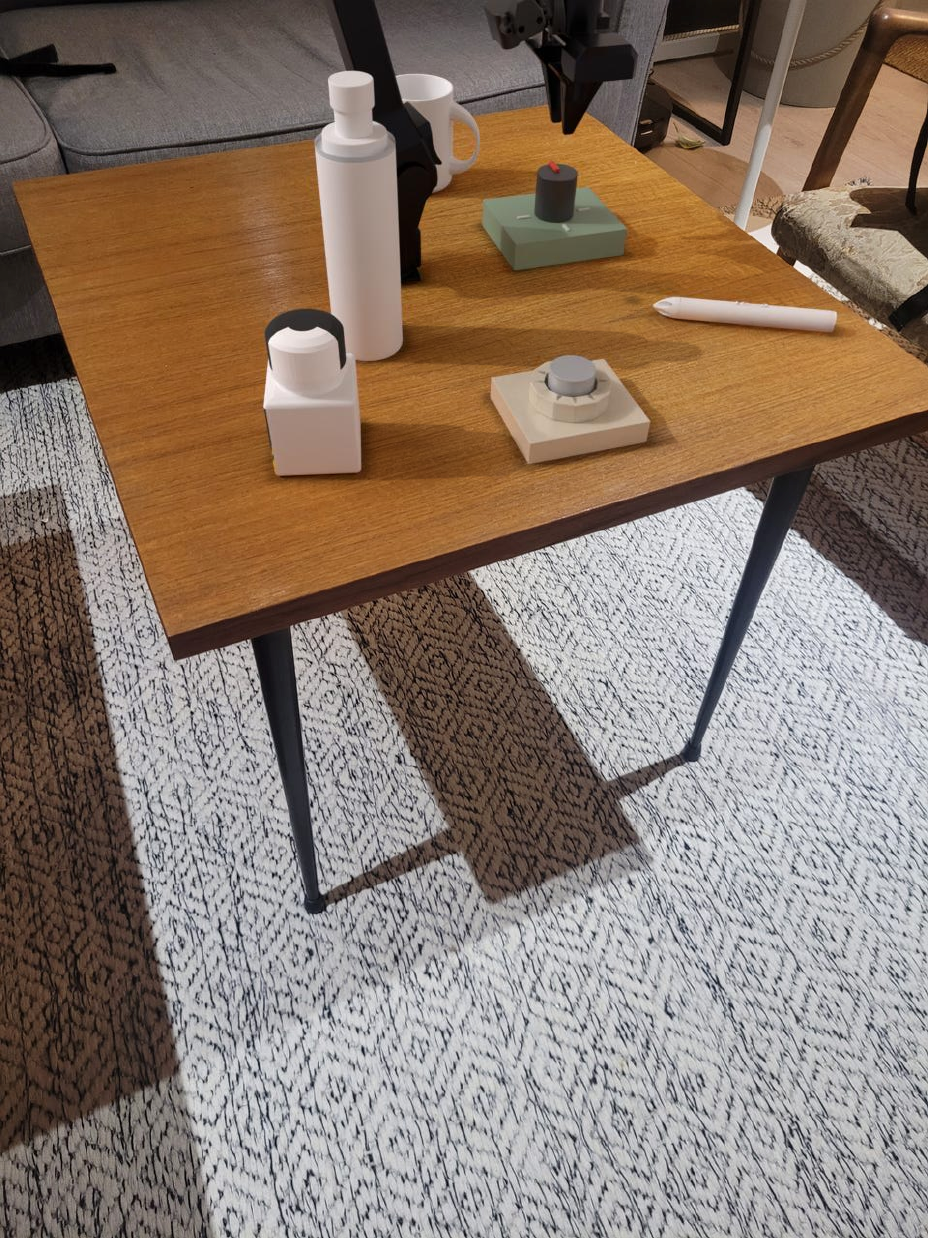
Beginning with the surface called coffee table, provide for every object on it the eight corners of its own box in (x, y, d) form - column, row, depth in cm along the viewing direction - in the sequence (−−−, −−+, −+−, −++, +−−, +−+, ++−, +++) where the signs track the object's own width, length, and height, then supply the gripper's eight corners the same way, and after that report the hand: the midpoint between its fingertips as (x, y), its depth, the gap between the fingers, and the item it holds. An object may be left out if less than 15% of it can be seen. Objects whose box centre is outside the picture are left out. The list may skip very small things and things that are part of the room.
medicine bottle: (279, 425, 81) (258, 299, 72) (360, 422, 81) (350, 296, 72) (275, 477, 76) (252, 349, 67) (361, 474, 76) (350, 346, 67)
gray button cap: (557, 402, 78) (559, 384, 76) (540, 376, 80) (542, 358, 79) (601, 394, 78) (603, 376, 77) (583, 368, 81) (585, 351, 80)
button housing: (528, 464, 78) (531, 425, 75) (490, 397, 84) (492, 359, 81) (646, 441, 80) (654, 403, 77) (600, 378, 86) (606, 340, 83)
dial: (579, 219, 101) (584, 175, 98) (542, 224, 100) (545, 179, 97) (564, 202, 104) (569, 158, 100) (528, 206, 103) (531, 162, 99)
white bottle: (407, 358, 88) (397, 68, 69) (337, 364, 87) (308, 72, 68) (397, 321, 92) (386, 39, 73) (331, 327, 91) (302, 42, 73)
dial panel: (513, 270, 100) (515, 242, 97) (481, 225, 106) (482, 197, 104) (623, 255, 102) (627, 227, 100) (585, 211, 109) (588, 184, 107)
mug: (469, 203, 110) (472, 107, 102) (374, 191, 112) (369, 95, 104) (485, 174, 116) (489, 80, 108) (394, 162, 117) (391, 69, 109)
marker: (650, 320, 93) (654, 298, 92) (650, 309, 95) (654, 288, 93) (831, 336, 92) (838, 315, 90) (828, 325, 93) (836, 304, 91)
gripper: (463, -74, 88) (461, 102, 100) (531, -20, 76) (519, 173, 88) (571, -81, 90) (556, 93, 102) (653, -29, 78) (626, 160, 90)
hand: (561, 127), depth 95 cm, fingers open, 3 cm apart
